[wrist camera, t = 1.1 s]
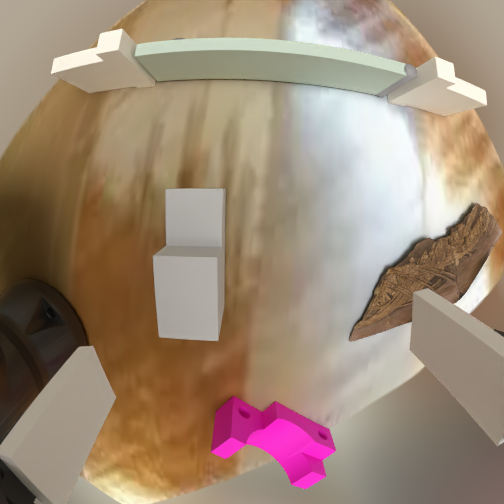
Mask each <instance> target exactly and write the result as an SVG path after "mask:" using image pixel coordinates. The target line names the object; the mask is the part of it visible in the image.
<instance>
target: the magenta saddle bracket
mask: <svg viewBox="0 0 504 504" xmlns="http://www.w3.org/2000/svg"><path fill="white" fill-rule="evenodd" d="M246 444H249V445H253V446H256V447H259V448H261V449H263V450H265V451H266V452H268V453H269V454H270V455H272V456H273V457H274V458H275V459H276V460H277V461H278V462H279V463H280V464H281V465H282V467H283V468H284V470H285V471H286V473H287V475H288V477H289V479H290V482H291V485H294V486H297V487H300V488H304V489H306V488H308V487H310V486H311V485H313V484H315V483H316V482H318V481H320V480H321V479H323V478H324V477H326V473H325V469H324V465H323V461H322V460H324V459H325V458H327V457H328V456H329V455H331V454H332V453H334V452H335V451H336V449H335V446H334V442H333V439H332V436H331V433H330V429H327V428H325V427H323V426H321V425H319V424H317V423H315V422H313V421H311V420H309V419H307V418H305V417H304V416H302V415H300V414H298V413H296V412H294V411H292V410H290V409H289V408H287V407H285V406H283V405H281V404H280V403H278V402H276V401H275V402H274V403H273V404H271V405H270V406H269V407H268V408H267V409H266V410H264V411H263V412H261V411H259V410H258V409H256V408H254V407H252V406H250V405H249V404H247V403H245V402H243V401H242V400H240V399H238V398H236V397H235V396H233V397H232V398H231V399H229V400H228V401H227V402H226V403H225V404H224V405H223V406H222V407H221V408H219V409H218V410H217V411H216V415H215V423H214V431H213V439H212V447H211V452H212V453H214V454H216V455H218V456H220V457H222V458H225V459H226V458H228V457H229V456H231V455H232V454H234V453H235V452H236V451H238V450H239V449H241V448H242V447H243V446H245V445H246Z"/></svg>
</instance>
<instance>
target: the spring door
mask: <svg viewBox="0 0 504 504" xmlns="http://www.w3.org/2000/svg"><path fill="white" fill-rule="evenodd" d="M135 57H136V58H137V59H138V60H139V61H140V62H141V64H142V65H143V66H144V67H145V68H146V69H147V70H148V71H149V72H150V73H151V75H152V76H153V77H154V78H155V79H156V80H157V81H169V80H187V79H253V80H271V81H284V82H295V83H304V84H313V85H320V86H327V87H334V88H340V89H346V90H352V91H358V92H363V93H368V94H373V95H377V96H379V97H383V96H385V95H387V94H388V93H390V92H392V91H394V90H395V89H397V88H399V87H400V86H402V85H404V84H406V83H407V82H409V81H411V80H413V79H414V78H416V77H417V70H416V68H415V67H414V66H412V65H410V64H404V63H401V62H397V61H394V60H390V59H386V58H383V57H379V56H375V55H371V54H366V53H362V52H357V51H352V50H347V49H342V48H337V47H331V46H325V45H318V44H311V43H304V42H295V41H285V40H273V39H257V38H197V39H184V38H177V39H173V40H169V41H159V42H150V43H143V44H137V46H136V52H135Z"/></svg>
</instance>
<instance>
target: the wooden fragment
mask: <svg viewBox="0 0 504 504" xmlns="http://www.w3.org/2000/svg"><path fill="white" fill-rule="evenodd" d="M501 233H502V231H501V229H500V227H499V225H498V224H497V222H496V220H495V218H494V216H493V215H491V214H490V213H489V212H488V210H487V208H486V207H481V206H480V205H479V204H478V203H475V206H474V207H473V208H472V210H471V212H470V213H469V214H467V215H466V216H465V218H464V220H463V221H462V223H460V224H457V225H456V226H455V227H453V228H451V229H450V234H449V236H446V237H443V238H440V239H439V240H437V241H435V240H432V239H430V238H428V239H425V240H423V241H421V242H420V243H417V244H416V246H415V248H414V249H413V250H412V251H411V252H410V253H409V254H408V256H407V257H406V258H405V259H404V260H403V261H402V262H400V263H399V264H398V265H397V266H395V267H390V268H388V270H387V271H386V273H385V274H384V275H383V276H382V277H381V279H380V281H379V284H378V285H377V287H376V289H375V292H374V296H373V298H372V301H371V303H370V305H369V307H368V309H367V311H366V313H365V315H364V316H363V319H362V321H360V322H358V323H357V325H356V326H355V327H354V330H353V332H352V334H351V336H350V338H349V341H355V340H358V339H361V338H364V337H368V336H371V335H375V334H377V333H380V332H383V331H386V330H389V329H391V328H394V327H397V326H400V325H403V324H406V323H409V322H412V310H413V292H416V291H420V290H423V289H427V288H428V289H430V290H432V291H433V292H435V293H436V294H438V295H440V296H441V297H443V298H445V299H446V300H448V301H449V302H451V303H452V304H454V303H456V302H457V301H458V300H460V299H461V298H462V297H463V295H464V294H465V293H466V292H467V290H468V289H469V287H470V285H471V284H472V282H473V281H474V279H475V278H476V276H477V274H478V273H479V271H480V269H481V268H482V266H483V264H484V263H485V261H486V260H487V258H488V256H489V254H490V252H491V251H492V249H493V247H494V245H495V243H496V242H497V240H498V239H499V237H500V235H501Z"/></svg>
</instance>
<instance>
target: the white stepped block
mask: <svg viewBox="0 0 504 504" xmlns="http://www.w3.org/2000/svg"><path fill="white" fill-rule="evenodd" d="M225 210H226V189H224V188H174V189H166V246H165V247H164V248H162V249H161V250H160V251H158V252H157V253H156V254H154V255H153V268H154V284H155V298H156V310H157V321H158V331H159V337H162V338H174V339H189V340H207V341H218V339H219V334H220V328H221V322H222V317H223V311H224V306H225Z"/></svg>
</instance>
